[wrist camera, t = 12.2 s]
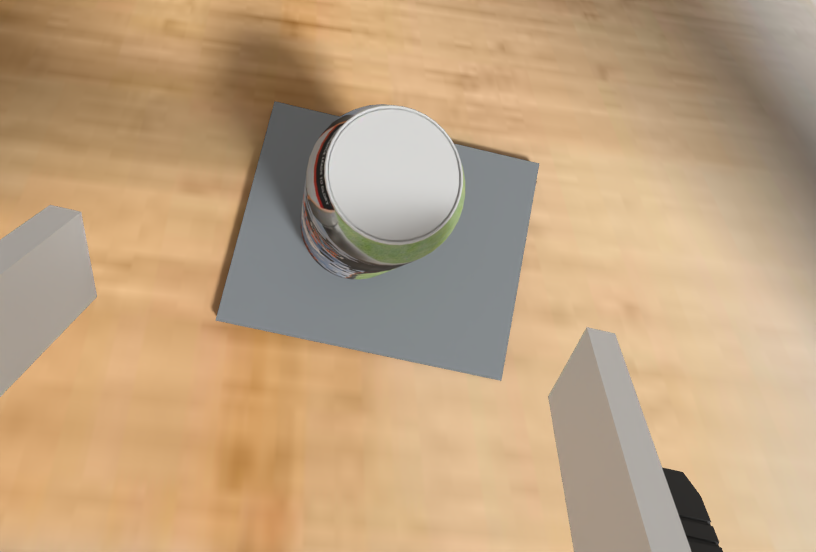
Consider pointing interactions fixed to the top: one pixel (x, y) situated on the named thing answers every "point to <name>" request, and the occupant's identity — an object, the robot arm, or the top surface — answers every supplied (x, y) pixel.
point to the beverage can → (380, 191)
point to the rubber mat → (391, 291)
